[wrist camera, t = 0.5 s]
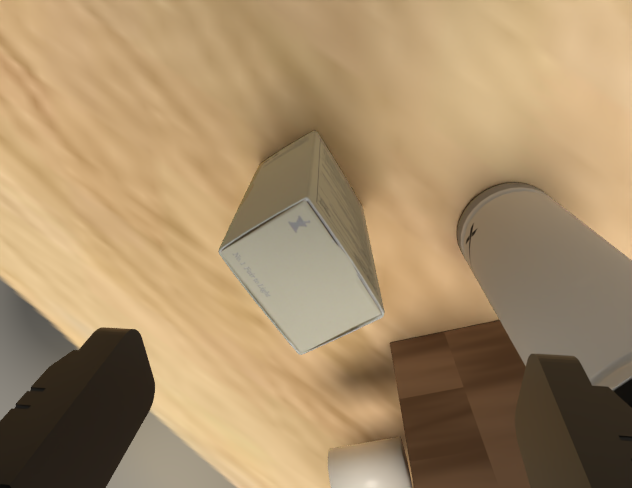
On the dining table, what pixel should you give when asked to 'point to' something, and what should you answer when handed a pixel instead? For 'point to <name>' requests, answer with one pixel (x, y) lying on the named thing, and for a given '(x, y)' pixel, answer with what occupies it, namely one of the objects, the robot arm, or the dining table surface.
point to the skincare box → (304, 247)
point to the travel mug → (552, 281)
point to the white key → (369, 465)
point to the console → (461, 407)
